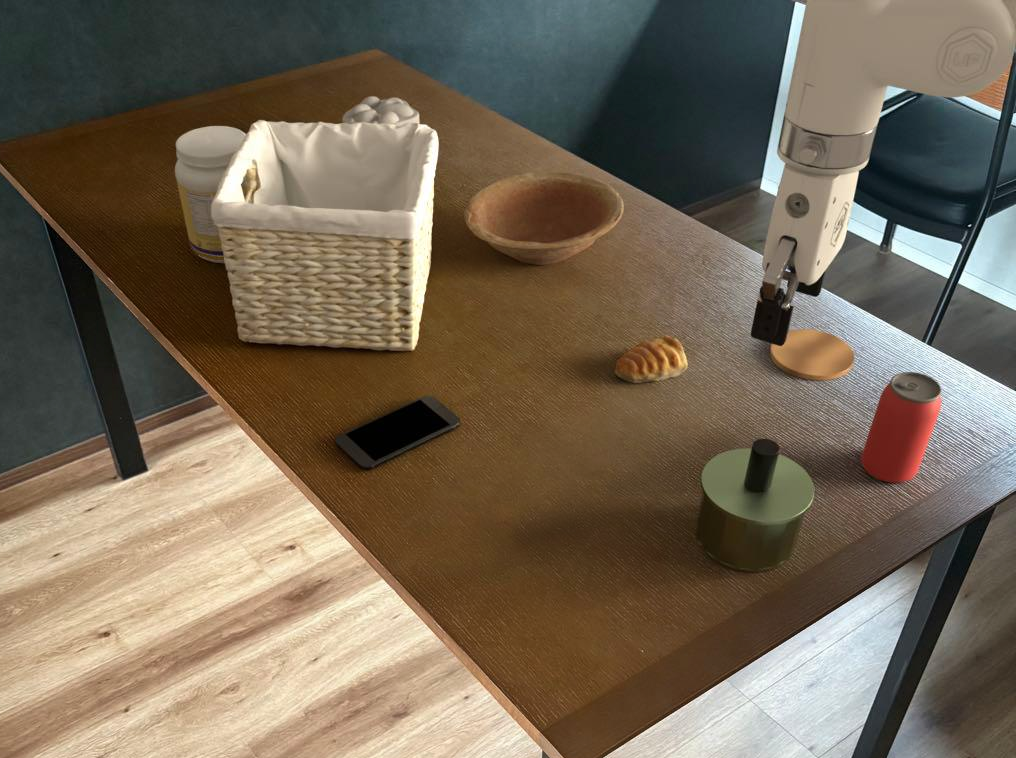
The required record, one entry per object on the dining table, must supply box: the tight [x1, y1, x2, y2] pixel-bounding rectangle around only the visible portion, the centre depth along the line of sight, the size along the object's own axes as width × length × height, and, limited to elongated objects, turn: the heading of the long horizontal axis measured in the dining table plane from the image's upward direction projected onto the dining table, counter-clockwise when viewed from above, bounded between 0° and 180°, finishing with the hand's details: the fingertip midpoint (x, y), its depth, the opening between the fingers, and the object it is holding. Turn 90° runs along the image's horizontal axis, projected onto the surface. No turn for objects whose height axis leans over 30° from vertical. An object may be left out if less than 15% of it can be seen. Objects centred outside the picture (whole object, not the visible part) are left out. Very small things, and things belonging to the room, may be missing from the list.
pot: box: [695, 491, 806, 573], centre depth 118 cm, size 11×11×8 cm
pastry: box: [614, 334, 689, 384], centre depth 142 cm, size 9×7×4 cm
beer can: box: [860, 371, 943, 484], centre depth 125 cm, size 7×7×12 cm
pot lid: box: [700, 438, 815, 525], centre depth 114 cm, size 12×12×6 cm
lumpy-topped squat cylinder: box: [341, 95, 421, 127], centre depth 188 cm, size 10×13×9 cm
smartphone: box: [333, 395, 461, 471], centre depth 134 cm, size 7×15×1 cm, turn 128°
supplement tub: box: [174, 125, 249, 264], centre depth 162 cm, size 12×12×17 cm
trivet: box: [769, 328, 855, 381], centre depth 145 cm, size 11×11×1 cm
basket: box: [211, 119, 440, 352], centre depth 148 cm, size 27×27×22 cm
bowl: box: [463, 171, 625, 266], centre depth 164 cm, size 24×24×8 cm
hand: (785, 315), depth 102 cm, fingers open, 9 cm apart
